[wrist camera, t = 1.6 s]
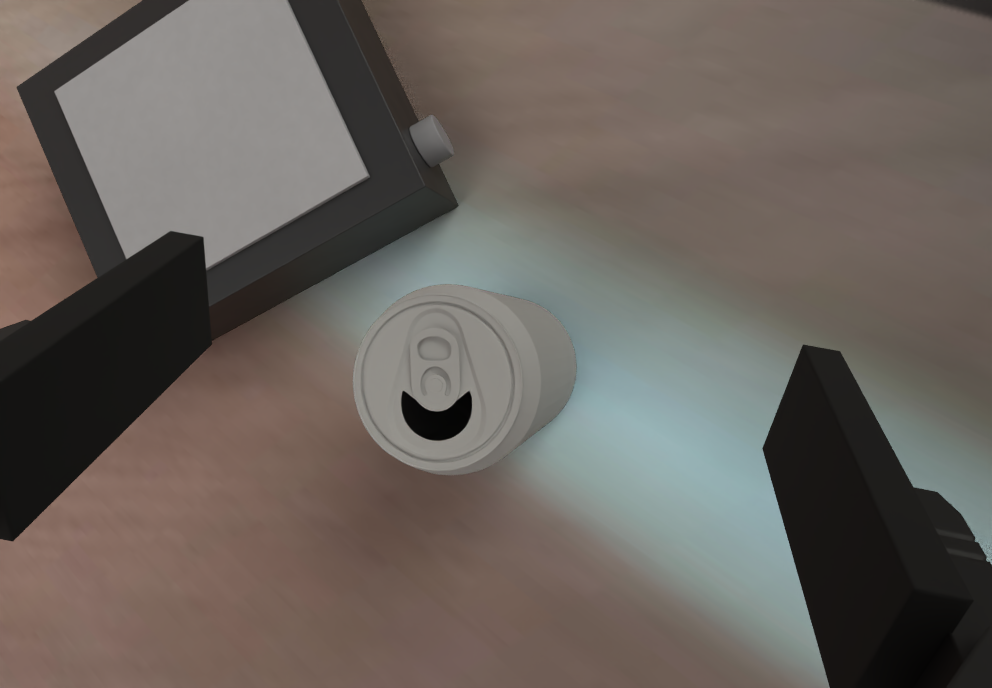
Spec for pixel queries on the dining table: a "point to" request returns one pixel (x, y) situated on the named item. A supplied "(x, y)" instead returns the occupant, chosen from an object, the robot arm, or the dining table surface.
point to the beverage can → (461, 377)
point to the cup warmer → (239, 143)
